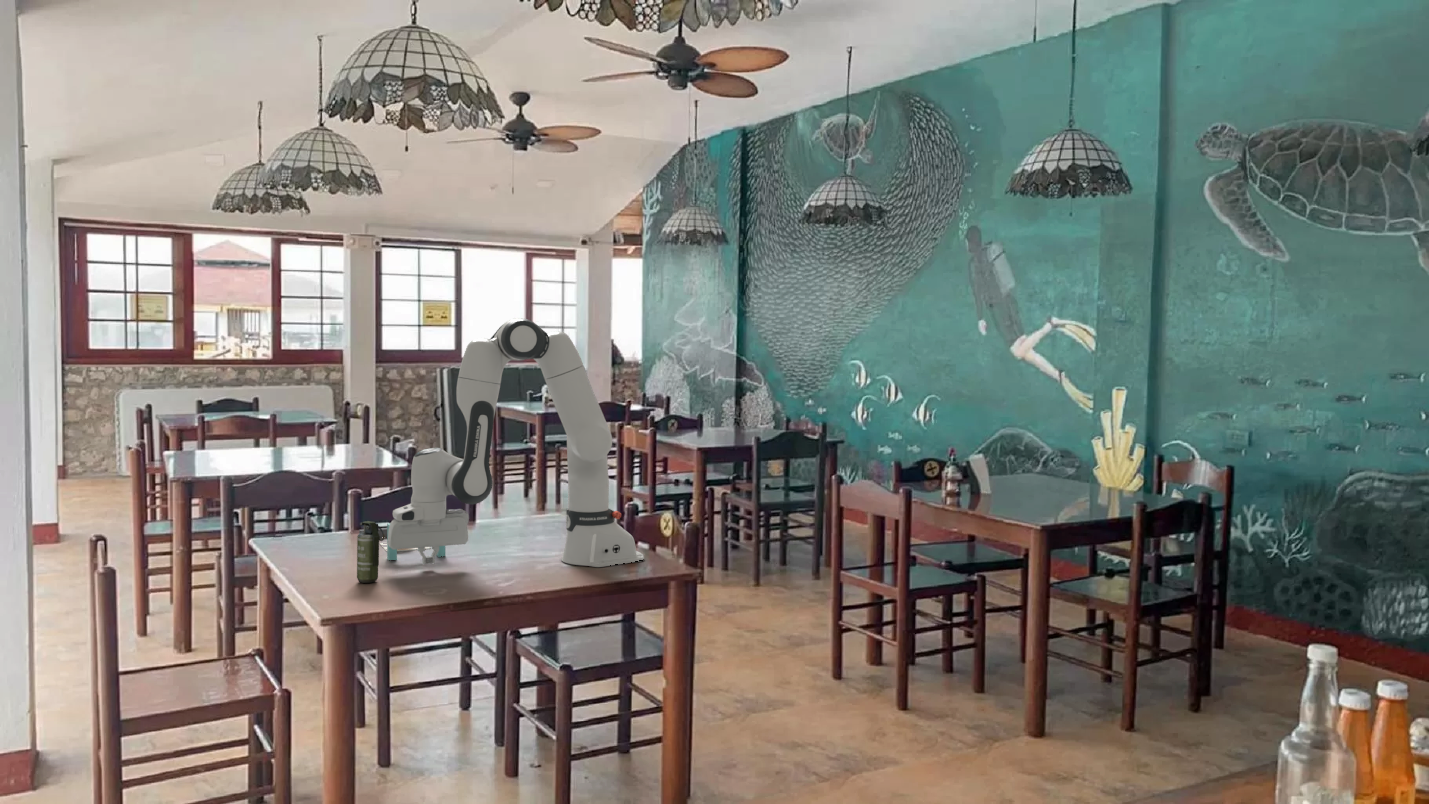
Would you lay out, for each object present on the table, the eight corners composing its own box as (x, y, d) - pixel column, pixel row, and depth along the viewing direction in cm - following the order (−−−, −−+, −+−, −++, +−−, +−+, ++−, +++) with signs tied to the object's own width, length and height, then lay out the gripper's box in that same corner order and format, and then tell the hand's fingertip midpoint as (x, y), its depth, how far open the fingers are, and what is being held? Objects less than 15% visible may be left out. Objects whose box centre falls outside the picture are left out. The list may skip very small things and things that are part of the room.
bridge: (387, 558, 295) (387, 523, 295) (442, 554, 302) (442, 519, 302) (389, 561, 293) (389, 525, 292) (445, 556, 300) (445, 521, 299)
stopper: (427, 533, 331) (427, 525, 330) (429, 534, 329) (429, 526, 329) (359, 538, 321) (359, 529, 321) (360, 539, 320) (360, 530, 320)
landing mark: (421, 540, 320) (421, 539, 320) (430, 548, 309) (430, 548, 309) (379, 543, 314) (379, 542, 314) (387, 552, 304) (387, 551, 304)
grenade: (352, 582, 269) (352, 522, 268) (369, 578, 274) (369, 519, 273) (370, 586, 266) (370, 525, 265) (387, 581, 271) (387, 521, 270)
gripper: (465, 506, 291) (465, 557, 292) (386, 511, 281) (386, 564, 282) (471, 510, 285) (471, 562, 286) (391, 515, 276) (391, 569, 277)
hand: (428, 563), depth 284 cm, fingers closed
